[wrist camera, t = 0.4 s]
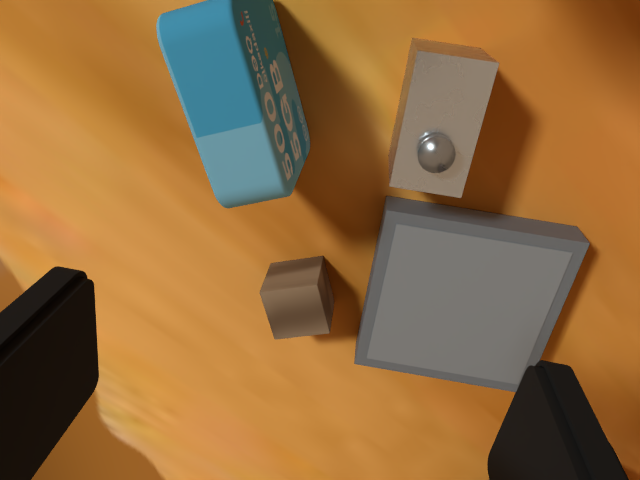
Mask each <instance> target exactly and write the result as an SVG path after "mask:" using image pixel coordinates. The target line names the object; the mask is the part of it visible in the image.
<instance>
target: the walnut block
mask: <svg viewBox="0 0 640 480" xmlns="http://www.w3.org/2000/svg"><path fill="white" fill-rule="evenodd" d="M260 295H261V298H262V302H263V305H264V308H265V311H266V314H267V317H268V320H269V323H270V326H271V329H272V333H273V336H274V339H283V338H292V337H301V336H310V335H319V334H328V333H330V328H331V321H332V315H333V308H334V297H333V293H332V289H331V285H330V281H329V277H328V273H327V269H326V265H325V261H324V257H323V256H318V257H311V258H304V259H297V260H290V261H283V262H276V263H271V264H270V267H269V269H268V272H267V275H266V277H265V280H264V282H263V285H262V287H261V290H260Z"/></svg>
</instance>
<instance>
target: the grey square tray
mask: <svg viewBox="0 0 640 480" xmlns="http://www.w3.org/2000/svg"><path fill="white" fill-rule="evenodd" d="M589 245H590V243H589V242H588V240H587V239H586V238H585V236H584V235H583V234H582V232H581V231H580V230H579V228H578V227H576V226H570V225H564V224H558V223H552V222H546V221H539V220H533V219H527V218H521V217H515V216H509V215H502V214H496V213H490V212H484V211H478V210H472V209H466V208H459V207H453V206H447V205H441V204H435V203H429V202H422V201H416V200H410V199H404V198H398V197H392V196H386V200H385V205H384V210H383V215H382V220H381V224H380V229H379V234H378V239H377V244H376V249H375V253H374V258H373V263H372V268H371V273H370V278H369V283H368V287H367V292H366V297H365V302H364V307H363V312H362V316H361V321H360V326H359V331H358V336H357V341H356V349H355V363H354V364H358V365H364V366H370V367H375V368H381V369H387V370H392V371H398V372H404V373H410V374H415V375H421V376H427V377H433V378H438V379H444V380H450V381H455V382H461V383H467V384H473V385H478V386H484V387H490V388H495V389H501V390H507V391H513V392H516V391H517V389H518V386H519V384H520V382H521V380H522V377H523V375H524V373H525V370H526V369H527V367H528V366H530V365H532V366H535V365H536V363H537V362H539V360H540V358H541V356H542V354H543V351H544V349H545V347H546V344H547V342H548V340H549V337H550V335H551V333H552V330H553V328H554V326H555V323H556V321H557V319H558V316H559V314H560V312H561V309H562V307H563V305H564V302H565V300H566V298H567V296H568V293H569V291H570V289H571V286H572V284H573V282H574V279H575V277H576V275H577V272H578V270H579V268H580V265H581V263H582V261H583V258H584V256H585V254H586V251H587V249H588V247H589Z"/></svg>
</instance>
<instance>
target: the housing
mask: <svg viewBox="0 0 640 480" xmlns="http://www.w3.org/2000/svg"><path fill="white" fill-rule="evenodd" d="M498 66H499V62H497V61H496V60H495V59H494V58H492V57H491V56H490V55H489V54H487V53H486V52H485V51H484V50H482V49H481V48H477V47H471V46H464V45H457V44H451V43H444V42H437V41H431V40H424V39H418V38H412V40H411V45H410V50H409V55H408V60H407V65H406V70H405V75H404V80H403V85H402V90H401V95H400V100H399V105H398V110H397V115H396V120H395V125H394V130H393V135H392V140H391V145H390V150H389V155H388V157H389V187H396V188H402V189H408V190H414V191H420V192H427V193H433V194H439V195H445V196H451V197H458V198H461V197H462V193H463V190H464V186H465V183H466V179H467V176H468V172H469V169H470V165H471V161H472V158H473V154H474V151H475V147H476V144H477V140H478V137H479V133H480V130H481V126H482V122H483V119H484V115H485V112H486V108H487V105H488V101H489V98H490V94H491V91H492V87H493V83H494V80H495V76H496V73H497V69H498Z"/></svg>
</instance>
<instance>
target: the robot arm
mask: <svg viewBox="0 0 640 480" xmlns="http://www.w3.org/2000/svg"><path fill="white" fill-rule="evenodd" d="M98 378H99V371H98V351H97V332H96V313H95V293H94V283H93V281H92V280H90V279H87V275H86V273H85V272H83V271H79V270H74V269H69V268H64V267H54V268H52V269H51V270H50V271H49V272H48V273H46V274H45V275H44V276H43V277H42V278H40V279H39V280H38V281H37V282H36V283H35V284H33V285H32V286H31V287H30V288H29V289H28V290H26V291H25V292H24V293H23V294H22V295H21V296H19V297H18V298H17V299H16V300H15V301H13V302H12V303H11V304H10V305H9V306H8V307H6V308H5V309H4V310H3V311H2V312H0V480H31V479H32V477H33V476H34V475H35V473H36V472H37V470H38V469H39V467H40V466H41V465H42V463H43V462H44V461H45V459H46V458H47V456H48V455H49V454H50V452H51V451H52V449H53V448H54V447H55V445H56V444H57V442H58V441H59V440H60V438H61V437H62V435H63V434H64V433H65V431H66V430H67V428H68V427H69V426H70V424H71V423H72V421H73V420H74V419H75V417H76V416H77V414H78V413H79V412H80V410H81V409H82V407H83V406H84V405H85V403H86V402H87V400H88V399H89V398H90V396H91V395H92V393H93V392H94V390H95V388H96V386H97V382H98ZM488 474H489V479H490V480H629V479H628V477H627V475H626V473H625V471H624V469H623V467H622V465H621V463H620V461H619V459H618V457H617V455H616V453H615V451H614V449H613V448H612V446H611V445H610V443H609V442H608V440H607V438H606V436H605V434H604V432H603V430H602V428H601V426H600V424H599V422H598V420H597V418H596V416H595V414H594V412H593V410H592V408H591V406H590V404H589V402H588V400H587V398H586V396H585V394H584V392H583V390H582V388H581V386H580V384H579V382H578V380H577V378H576V376H575V374H574V372H573V370H572V368H571V367H570V366H568V365H564V364H558V363H553V362H548V361H543V360H541V361H539V362H537V363H536V365H535V366H532V365H530V366H528V367H527V369H526V370H525V373H524V375H523V377H522V380H521V382H520V384H519V386H518V389H517V391H516V393H515V396H514V398H513V400H512V402H511V405H510V407H509V409H508V412H507V414H506V416H505V419H504V421H503V423H502V425H501V428H500V430H499V432H498V435H497V437H496V439H495V441H494V444H493V446H492V448H491V451H490V453H489V457H488Z"/></svg>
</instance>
